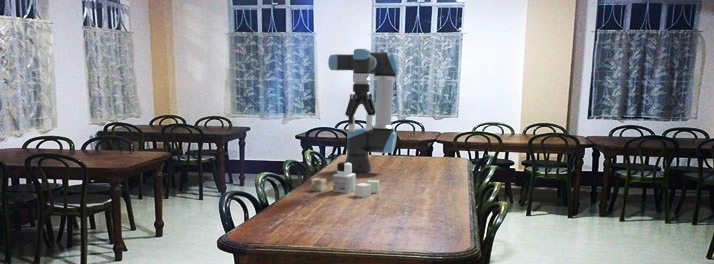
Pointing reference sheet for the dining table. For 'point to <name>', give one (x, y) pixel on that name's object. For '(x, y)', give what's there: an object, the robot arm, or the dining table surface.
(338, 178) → the container
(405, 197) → the dining table surface
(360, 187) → the cream cube
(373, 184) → the sage cube
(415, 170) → the dining table surface
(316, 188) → the beech cube
